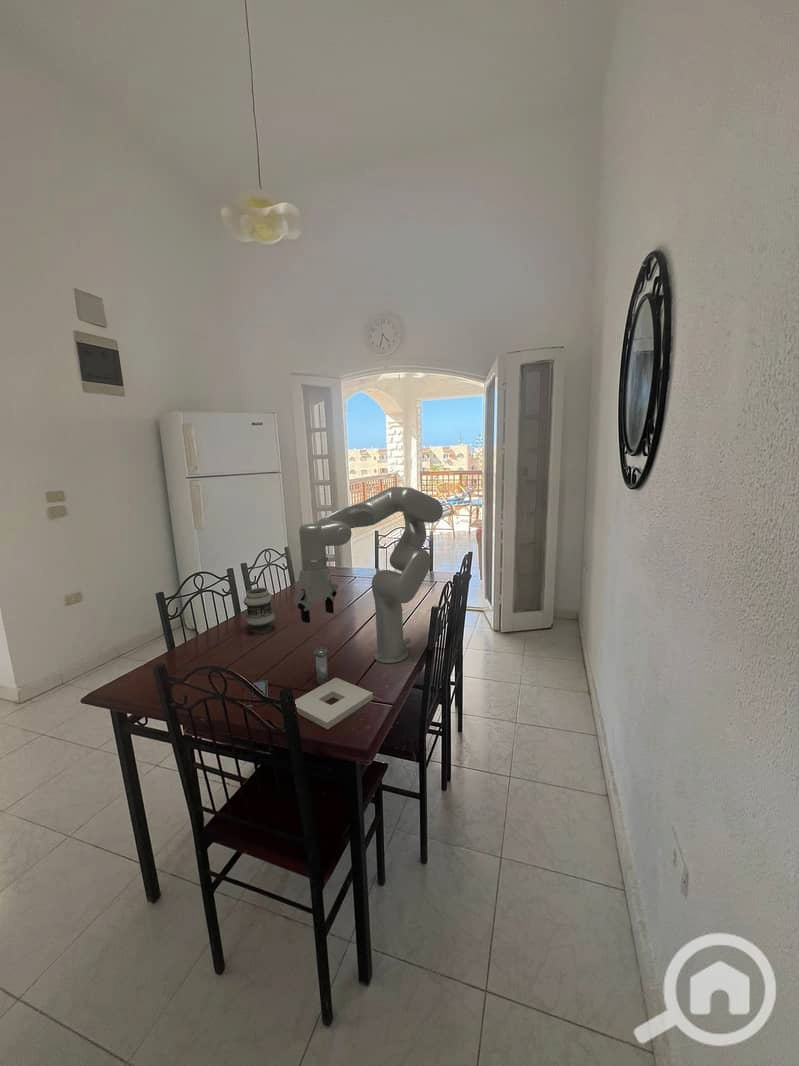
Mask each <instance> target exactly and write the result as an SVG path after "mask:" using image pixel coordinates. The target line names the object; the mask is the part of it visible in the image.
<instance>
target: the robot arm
mask: <svg viewBox="0 0 799 1066" xmlns="http://www.w3.org/2000/svg"><path fill="white" fill-rule="evenodd" d="M398 512H399V513H402V515H403V518H404V524H405V526H404V530H403V532H402V535H401V537H400V539H399V540H398V542H397V544H396V545H395V547H394V548H393V551H392V552H391V554H390V557H389V564H390V566H391V567H392V568H393V569H395V570H397V571H393V570H390V569H382V570H379V571H377V572H376V573H375V574H374V575H373V577H372V578H371V579H372V580H371V591H372V595H373V599H374V606H375V608H374V609H375V610H374V611H375V625H376V626H375V628H376V630H375V631H376V647H377V648H376V649H375V650H374V651H373V653H372V654H373V659H374V660H375V661H377V662H379V663H383V664H395V663H396V664H397V663H400V662H403V661H404V660H406V659H407V658H408V657H409V651H408V649H407V648H406V646H407V645H408V644H410V643H411V641H412V640H411V639H410V637H407V638H405V639H404V627H403V625H404V623H403V607H402V604H408V603H409V602H411V601H412V600H413V599H414V598H415V596H416V594H417V593H418V591H419V589H420V588H421V586H422V585H423V582H424V581H425V579H426V577H427V575H428V573H429V571H430V568H431V563H432V562H431V555H430V553H429V552H428V551H427V550H426V549H424V548H423V546H424V544H425V541H426V540H427V529H426V525H425V523H428V524H432V523H433V524H435V523H437V522H438V521H439V520H441V518H442V516H443V513H444V508H443V505H442V503H441V502H440V500H438V499H437V498H436V497H435V498H434V497H432V496H430V495H428V494H426V493H424V492H422V491H419V490H417V489H415V488H412V487H407V486H391V487H388V488H386V489H385V490H382V491H381V492H378V493H377V494H375V495H373V496H371V497H370V498H367V499H366V500H363V501H362V502H359V503H355V504H353V505H350V506H347V507H344V508H341V509H339V510H336V511H334V512H332V513H329V514H327V515H325V516H324V517H321V519H319V520H318V521H317V522H316V523H307V524H302V525H300V527H299V529H298V530H299V543H300V545H299V546H300V556H301V557H300V558H301V570H299V574H298V575H299V576H298V593H297V594H296V595H295V596H294V597H293V598H292V602H293V603H294V605H295V607H296V608H298V609H299V610H300V616H301V622H303V623H306V624H309V623H310V622H311V617H310V610H309V608H310V605H311V604H312V603H315V602H319V601H321V600H324V605H325V606H324V607H325V612H326V613H329V614H334V613H335V612H334V609H335V608H334V601H335V600H336V598H335V597H336V595H337V594H338V592H337V591H338V588H339V585H338V584H336V583H333V582H332V579H331V572H330V569H329V566H328V563H327V562H328V561H329V558H328V557H327V549H326V548H327V547H329V546H330V547H333V546H337V547H338V546H339V547H340V546H343V545H346V544H347V543H348V542H349V541H350V540H351V538H352V529H355V528H364V527H370V526H374V525H376V524H378V523H380V522H381V521H383V520H385V519H387V518H388V517H391V516H392V515H394V514H395V513H398ZM398 571H400V572H401V573H400V572H398Z"/></svg>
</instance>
